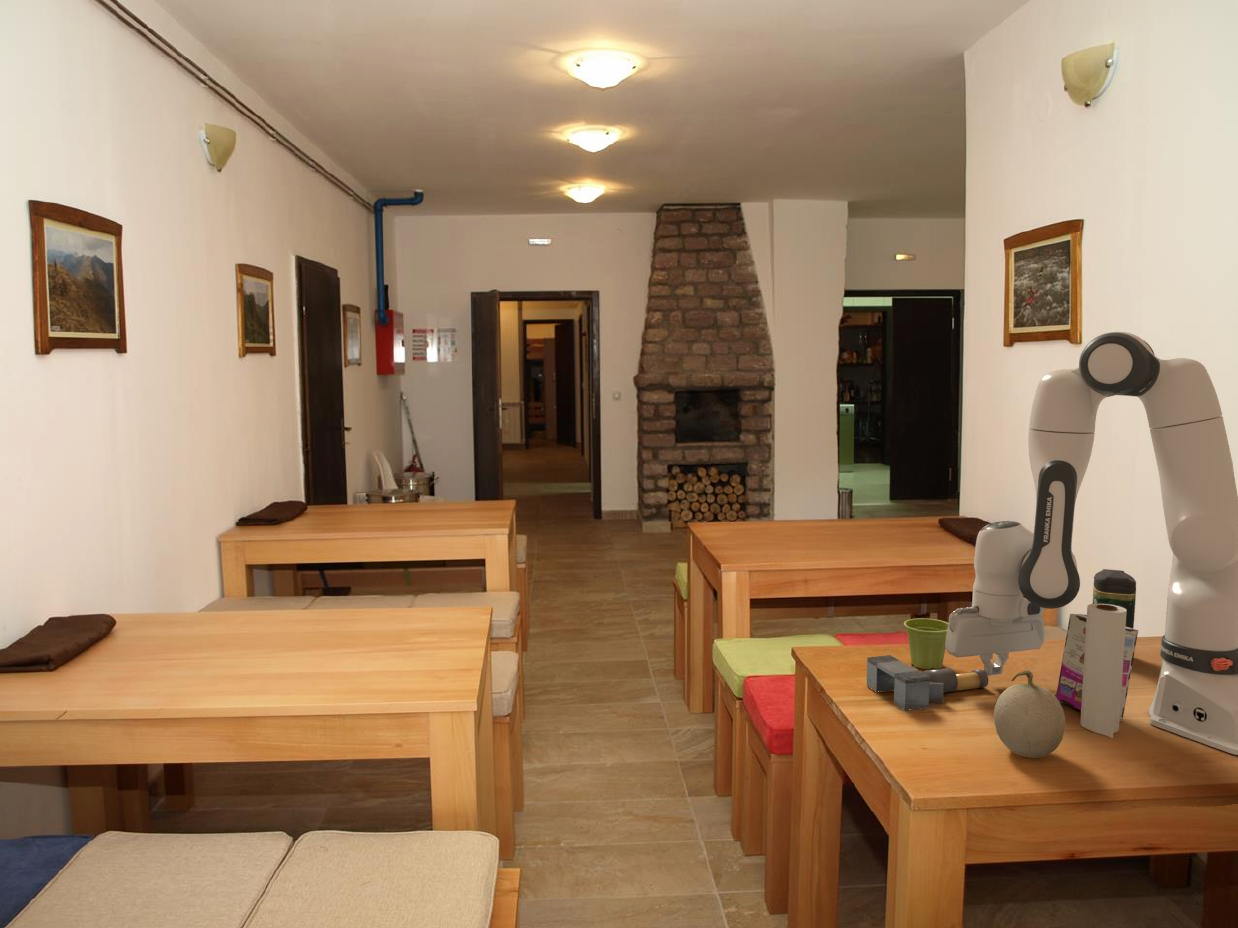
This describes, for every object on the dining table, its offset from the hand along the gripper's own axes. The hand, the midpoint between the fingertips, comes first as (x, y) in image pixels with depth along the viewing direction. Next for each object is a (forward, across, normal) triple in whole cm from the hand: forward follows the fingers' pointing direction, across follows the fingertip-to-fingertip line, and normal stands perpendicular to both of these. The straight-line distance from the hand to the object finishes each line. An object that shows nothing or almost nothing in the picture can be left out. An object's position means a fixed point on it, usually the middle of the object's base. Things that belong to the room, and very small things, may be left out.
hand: (993, 674), depth 186 cm
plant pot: (+2, -5, +14) cm, 15 cm away
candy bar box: (+2, +8, -17) cm, 18 cm away
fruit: (+2, -15, -28) cm, 32 cm away
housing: (+2, -19, 0) cm, 19 cm away
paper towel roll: (+2, +4, -23) cm, 24 cm away
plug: (+2, -9, 0) cm, 9 cm away
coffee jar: (+2, +35, +7) cm, 35 cm away
